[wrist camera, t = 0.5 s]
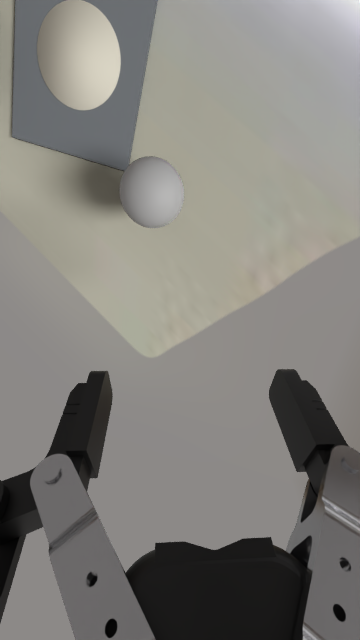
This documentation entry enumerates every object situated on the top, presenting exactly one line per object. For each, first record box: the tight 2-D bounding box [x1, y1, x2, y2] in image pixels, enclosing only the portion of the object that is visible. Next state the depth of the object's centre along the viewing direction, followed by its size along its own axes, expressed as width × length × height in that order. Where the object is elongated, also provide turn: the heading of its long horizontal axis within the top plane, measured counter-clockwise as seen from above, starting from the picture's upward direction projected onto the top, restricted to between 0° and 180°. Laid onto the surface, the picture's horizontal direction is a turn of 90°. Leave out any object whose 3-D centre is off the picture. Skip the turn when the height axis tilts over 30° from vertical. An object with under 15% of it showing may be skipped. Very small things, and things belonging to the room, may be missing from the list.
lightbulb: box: [119, 156, 184, 228], centre depth 27 cm, size 6×6×11 cm
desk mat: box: [12, 0, 158, 171], centre depth 27 cm, size 18×14×1 cm
